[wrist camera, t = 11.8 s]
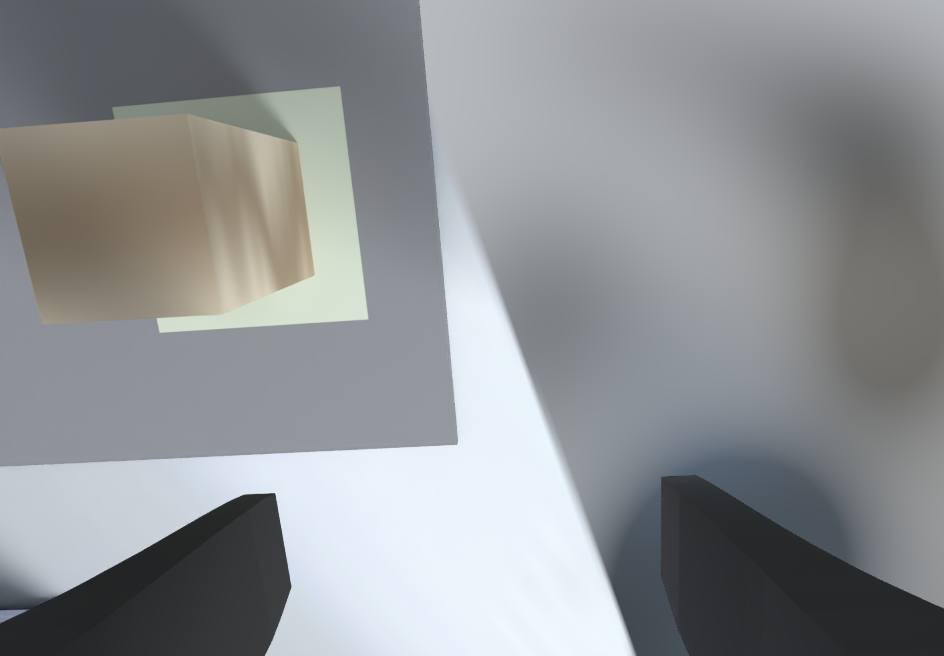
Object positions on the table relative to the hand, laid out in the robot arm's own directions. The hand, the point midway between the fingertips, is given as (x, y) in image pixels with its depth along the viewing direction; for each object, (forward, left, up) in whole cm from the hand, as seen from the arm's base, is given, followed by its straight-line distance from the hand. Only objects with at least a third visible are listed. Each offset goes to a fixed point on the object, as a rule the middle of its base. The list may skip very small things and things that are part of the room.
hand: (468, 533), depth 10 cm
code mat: (+6, +13, -8) cm, 17 cm away
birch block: (+6, +7, -8) cm, 12 cm away
